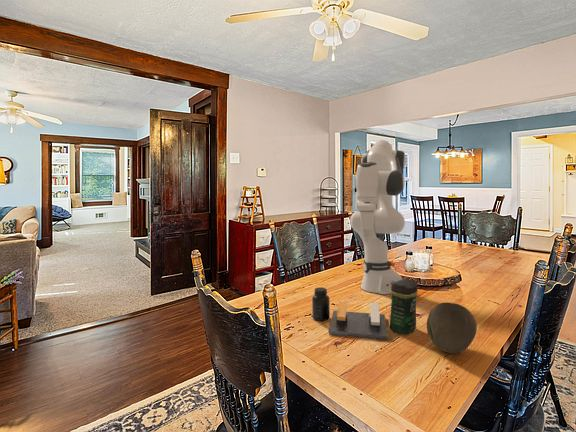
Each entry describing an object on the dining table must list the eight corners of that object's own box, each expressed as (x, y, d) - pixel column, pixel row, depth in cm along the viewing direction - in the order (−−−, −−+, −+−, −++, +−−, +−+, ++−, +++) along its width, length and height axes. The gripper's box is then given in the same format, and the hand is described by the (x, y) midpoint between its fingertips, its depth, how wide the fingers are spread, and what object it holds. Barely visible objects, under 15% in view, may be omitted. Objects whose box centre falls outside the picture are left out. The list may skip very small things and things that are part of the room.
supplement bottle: (317, 313, 134) (317, 285, 133) (332, 317, 130) (332, 288, 129) (309, 319, 128) (308, 290, 127) (324, 323, 125) (324, 293, 123)
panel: (333, 314, 133) (333, 306, 133) (384, 318, 129) (384, 309, 128) (328, 334, 116) (328, 325, 115) (387, 340, 111) (387, 330, 111)
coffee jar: (407, 338, 112) (408, 286, 110) (386, 330, 118) (387, 281, 116) (419, 329, 119) (421, 279, 117) (399, 322, 125) (400, 275, 123)
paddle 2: (368, 307, 125) (368, 302, 124) (380, 308, 124) (380, 303, 123) (368, 326, 117) (369, 321, 116) (381, 327, 116) (381, 322, 115)
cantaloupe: (474, 366, 95) (476, 317, 93) (422, 353, 103) (424, 308, 101) (476, 345, 107) (478, 301, 105) (429, 335, 115) (431, 293, 113)
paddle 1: (337, 307, 128) (337, 301, 128) (348, 307, 127) (348, 302, 127) (335, 322, 119) (334, 316, 118) (347, 323, 118) (347, 317, 117)
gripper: (359, 202, 138) (358, 234, 139) (358, 206, 118) (357, 244, 120) (374, 202, 136) (373, 234, 138) (376, 206, 116) (375, 244, 118)
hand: (366, 239), depth 129 cm, fingers open, 8 cm apart
